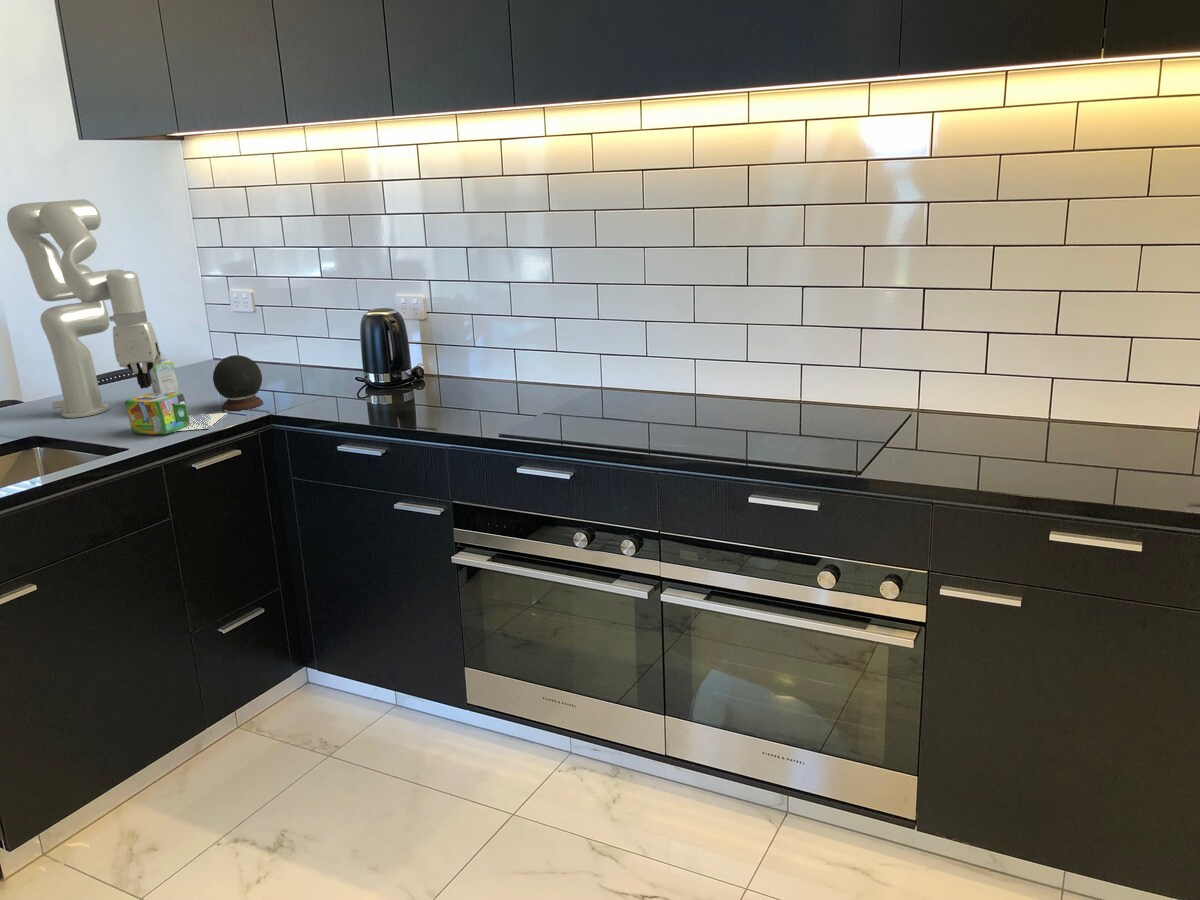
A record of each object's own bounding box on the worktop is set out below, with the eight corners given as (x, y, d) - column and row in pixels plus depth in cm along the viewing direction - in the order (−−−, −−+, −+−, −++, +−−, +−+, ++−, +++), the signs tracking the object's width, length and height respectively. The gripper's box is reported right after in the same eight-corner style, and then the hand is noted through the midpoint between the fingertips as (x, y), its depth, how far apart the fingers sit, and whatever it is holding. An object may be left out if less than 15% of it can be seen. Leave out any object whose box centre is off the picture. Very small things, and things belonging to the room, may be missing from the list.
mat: (146, 434, 243) (146, 433, 243) (169, 418, 258) (169, 417, 258) (208, 429, 244) (208, 428, 243) (227, 414, 259) (227, 412, 259)
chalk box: (123, 401, 240) (167, 401, 235) (150, 392, 249) (193, 391, 244) (131, 435, 243) (175, 435, 238) (158, 425, 251) (201, 425, 246)
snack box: (153, 401, 280) (143, 353, 276) (173, 398, 283) (163, 350, 278) (164, 415, 263) (153, 363, 258) (185, 411, 266) (174, 360, 261)
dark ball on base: (266, 398, 275) (257, 348, 270) (267, 408, 263) (258, 356, 258) (219, 404, 270) (209, 354, 266) (218, 415, 258) (208, 362, 254)
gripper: (95, 323, 238) (111, 392, 243) (154, 319, 238) (169, 388, 244) (108, 319, 245) (123, 386, 250) (165, 314, 245) (179, 381, 251)
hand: (145, 387), depth 247 cm, fingers closed
